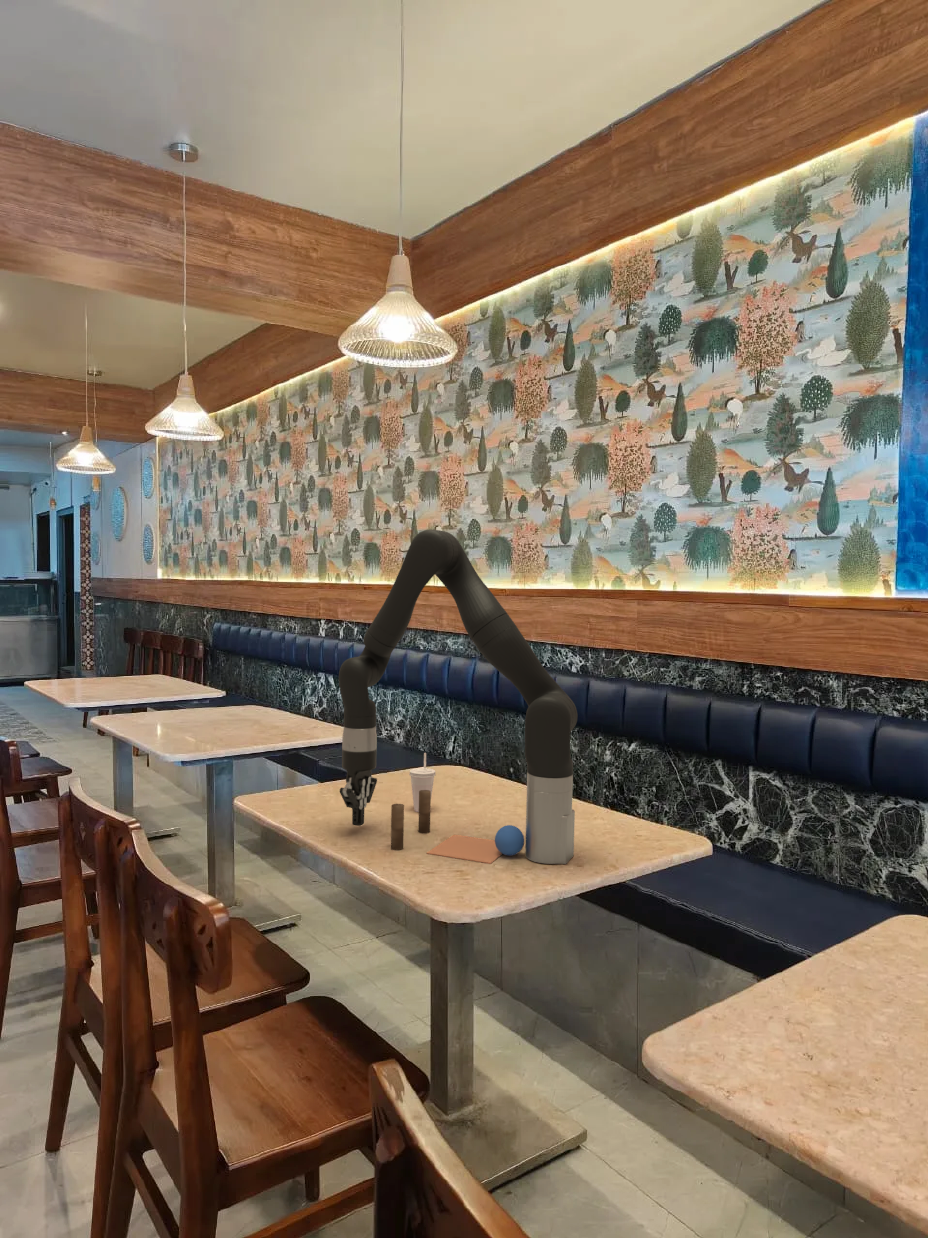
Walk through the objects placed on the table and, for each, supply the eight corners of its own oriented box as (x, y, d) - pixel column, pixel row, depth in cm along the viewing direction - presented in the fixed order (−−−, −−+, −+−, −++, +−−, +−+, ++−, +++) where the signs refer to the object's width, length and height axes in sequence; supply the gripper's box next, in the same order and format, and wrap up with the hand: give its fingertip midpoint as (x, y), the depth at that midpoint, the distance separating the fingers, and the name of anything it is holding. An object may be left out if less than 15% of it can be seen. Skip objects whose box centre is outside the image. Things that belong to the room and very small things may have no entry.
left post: (405, 847, 177) (406, 804, 177) (399, 851, 175) (400, 807, 174) (394, 845, 178) (395, 803, 178) (388, 849, 176) (389, 806, 176)
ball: (528, 852, 175) (528, 823, 175) (518, 861, 170) (518, 831, 170) (500, 849, 178) (500, 820, 178) (490, 857, 172) (490, 828, 172)
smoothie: (431, 814, 202) (432, 756, 202) (405, 812, 204) (406, 754, 203) (437, 807, 208) (438, 751, 208) (412, 806, 210) (413, 749, 209)
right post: (431, 830, 189) (432, 790, 189) (426, 834, 187) (427, 793, 187) (421, 829, 190) (422, 789, 190) (416, 832, 188) (417, 792, 188)
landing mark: (514, 844, 181) (514, 843, 181) (490, 864, 168) (490, 863, 168) (453, 835, 186) (453, 834, 186) (426, 853, 174) (426, 852, 173)
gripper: (359, 754, 179) (358, 835, 180) (388, 743, 191) (387, 819, 192) (328, 750, 182) (327, 830, 183) (359, 740, 194) (358, 815, 195)
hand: (358, 824), depth 188 cm, fingers closed
